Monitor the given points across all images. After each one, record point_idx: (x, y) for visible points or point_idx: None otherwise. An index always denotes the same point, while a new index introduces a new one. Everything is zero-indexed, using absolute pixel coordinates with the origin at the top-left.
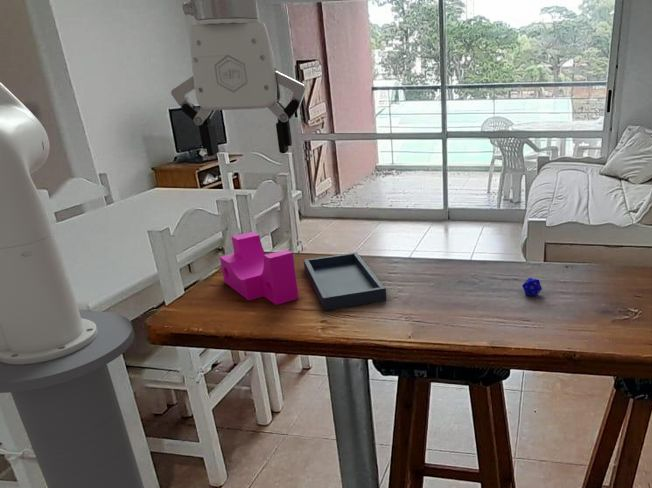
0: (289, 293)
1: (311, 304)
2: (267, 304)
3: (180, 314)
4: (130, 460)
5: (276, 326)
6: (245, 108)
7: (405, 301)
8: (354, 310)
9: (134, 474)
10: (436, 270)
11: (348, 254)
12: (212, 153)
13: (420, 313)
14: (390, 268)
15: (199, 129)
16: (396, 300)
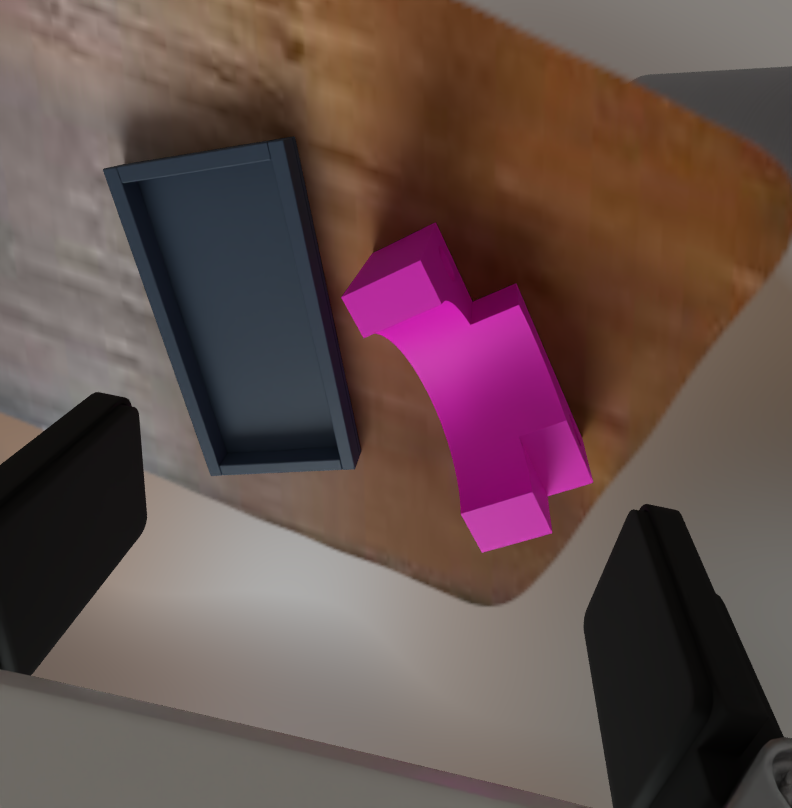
0: (391, 247)
1: (334, 198)
2: (461, 236)
3: (722, 234)
4: (789, 143)
5: (434, 49)
6: (149, 703)
7: (71, 142)
8: (209, 114)
9: (775, 139)
10: (13, 343)
11: (232, 466)
12: (637, 512)
13: (19, 34)
14: (134, 394)
15: (776, 725)
16: (97, 157)
